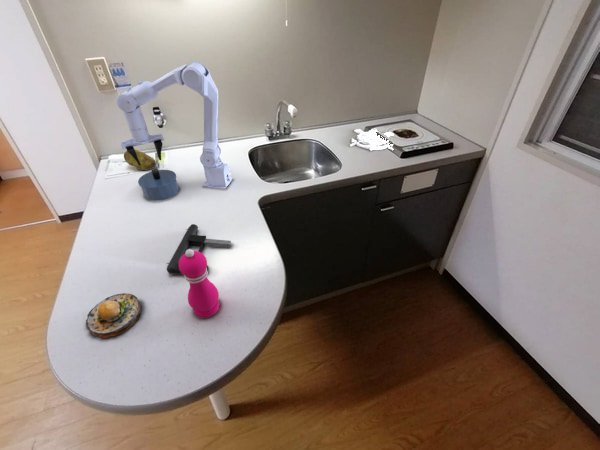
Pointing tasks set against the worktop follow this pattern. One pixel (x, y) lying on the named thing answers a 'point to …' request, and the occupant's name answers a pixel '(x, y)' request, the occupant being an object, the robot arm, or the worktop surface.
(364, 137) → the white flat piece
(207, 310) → the pepper mill
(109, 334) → the burger on plate
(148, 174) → the lid
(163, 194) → the pot
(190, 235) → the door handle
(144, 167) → the potato
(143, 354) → the worktop surface
